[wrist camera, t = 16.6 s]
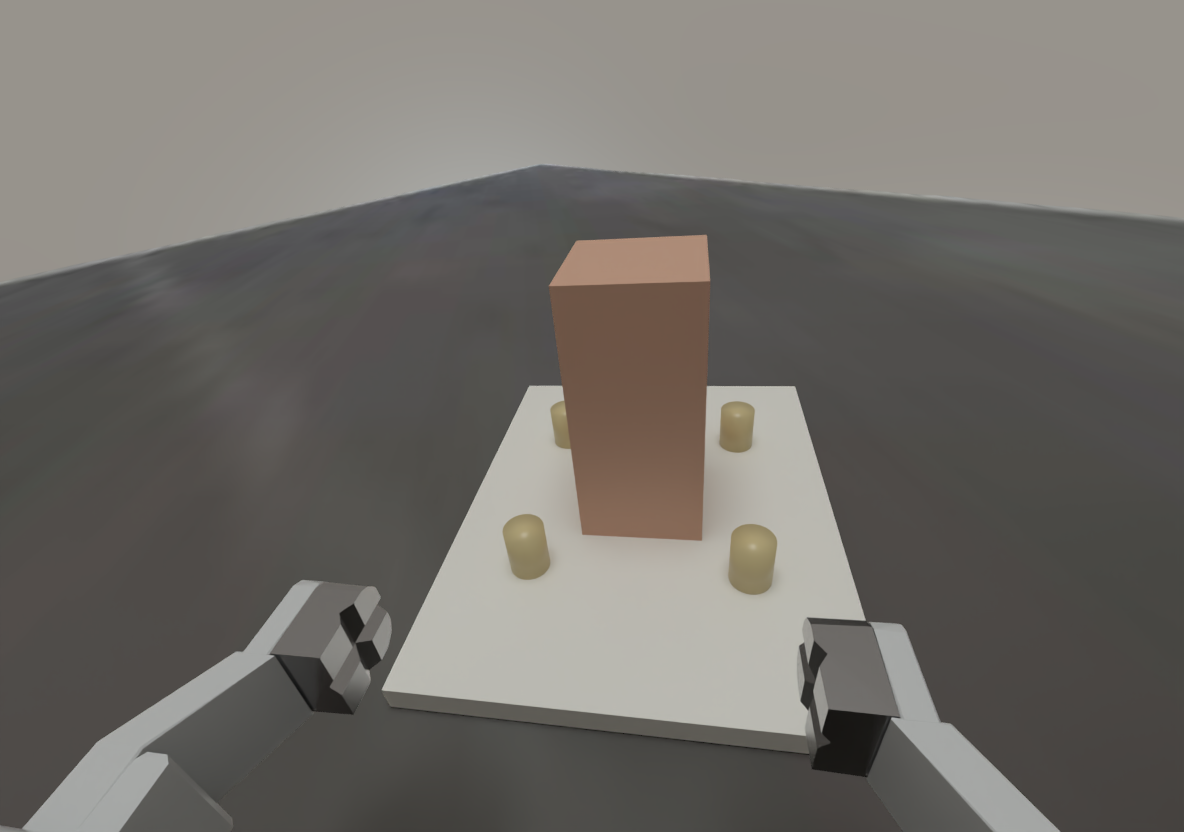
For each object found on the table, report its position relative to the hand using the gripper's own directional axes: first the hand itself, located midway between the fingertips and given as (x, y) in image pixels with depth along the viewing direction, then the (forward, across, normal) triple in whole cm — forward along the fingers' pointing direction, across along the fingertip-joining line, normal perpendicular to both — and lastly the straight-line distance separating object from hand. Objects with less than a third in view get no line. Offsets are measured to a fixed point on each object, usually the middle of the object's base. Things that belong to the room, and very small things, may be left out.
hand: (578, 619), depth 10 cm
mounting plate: (+12, 0, +9) cm, 15 cm away
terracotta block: (+12, 0, +8) cm, 15 cm away
